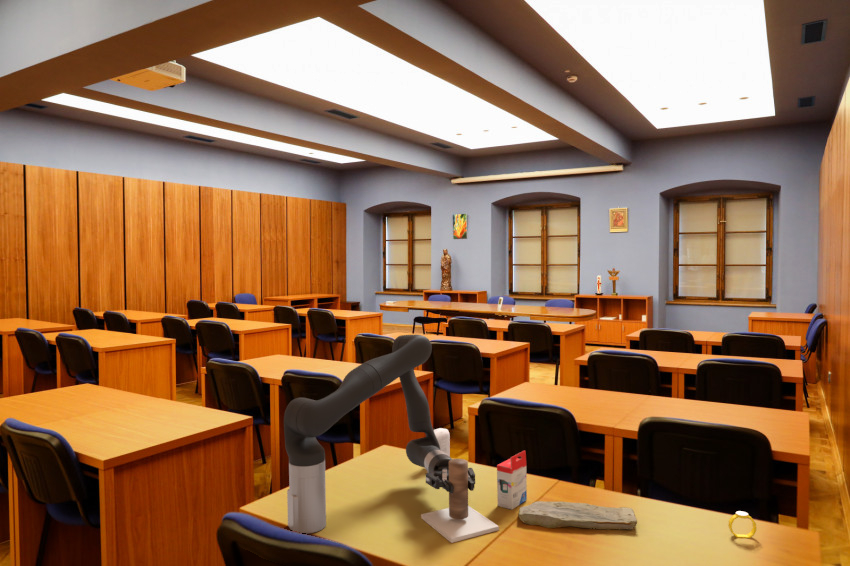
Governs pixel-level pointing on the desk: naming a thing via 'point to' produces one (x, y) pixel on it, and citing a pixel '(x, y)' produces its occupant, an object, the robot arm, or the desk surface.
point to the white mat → (459, 524)
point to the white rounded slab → (443, 440)
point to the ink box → (512, 481)
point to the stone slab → (577, 515)
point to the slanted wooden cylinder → (458, 488)
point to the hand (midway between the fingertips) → (462, 488)
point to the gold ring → (742, 515)
